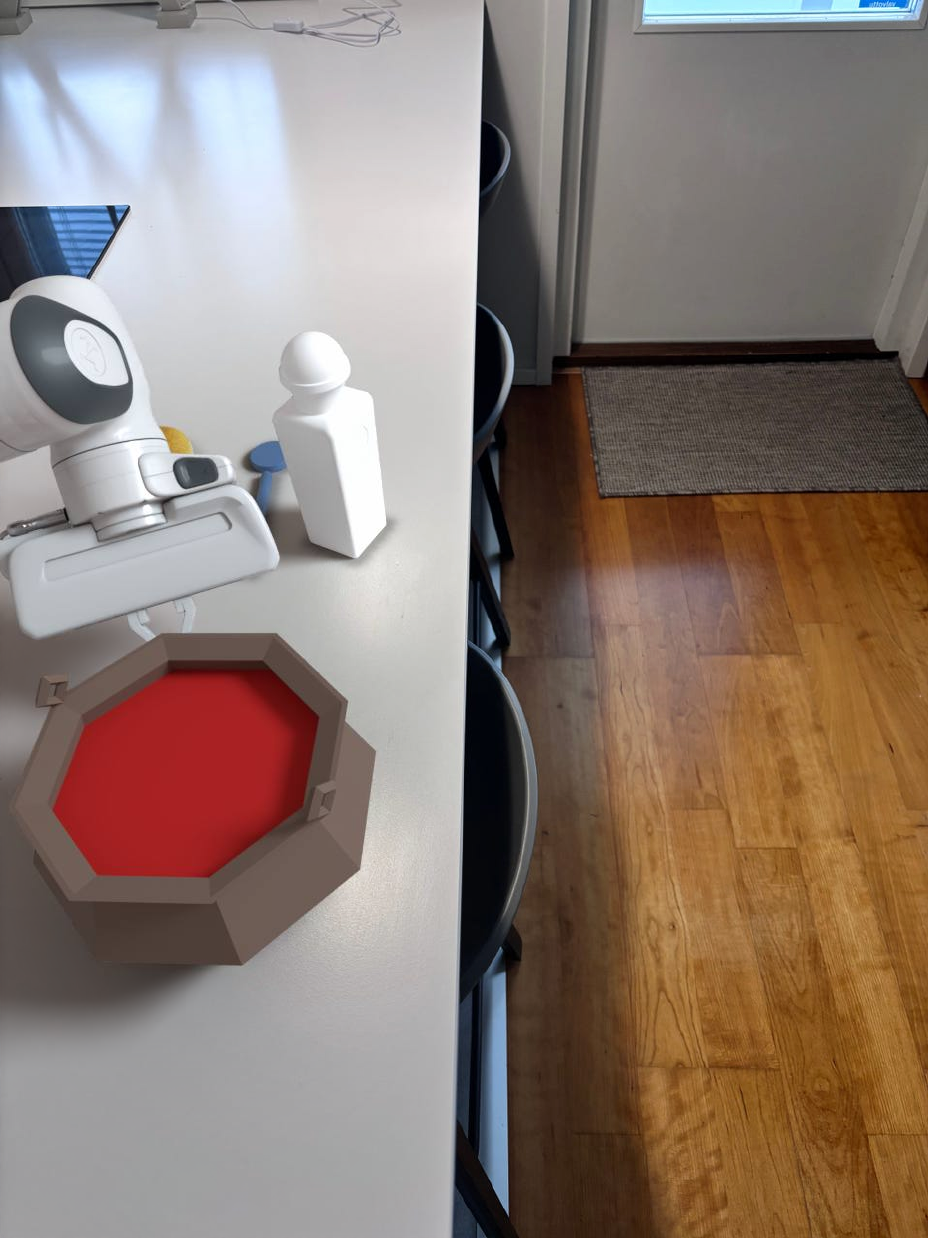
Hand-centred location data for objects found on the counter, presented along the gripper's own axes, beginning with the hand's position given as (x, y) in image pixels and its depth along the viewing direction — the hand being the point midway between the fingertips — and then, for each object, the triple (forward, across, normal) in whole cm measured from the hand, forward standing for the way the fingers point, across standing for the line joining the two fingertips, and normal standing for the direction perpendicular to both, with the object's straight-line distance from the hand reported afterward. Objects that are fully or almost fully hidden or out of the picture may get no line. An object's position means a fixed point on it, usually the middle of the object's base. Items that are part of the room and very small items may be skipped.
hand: (178, 660), depth 75 cm
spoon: (-12, +11, +22) cm, 27 cm away
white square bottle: (-6, +18, +16) cm, 25 cm away
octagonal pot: (+15, 0, -6) cm, 16 cm away
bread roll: (-20, +1, +29) cm, 35 cm away
